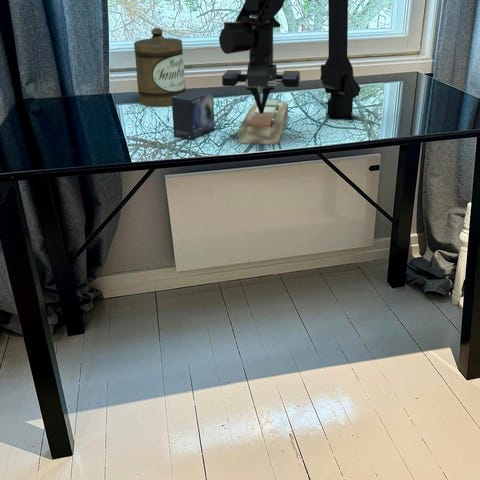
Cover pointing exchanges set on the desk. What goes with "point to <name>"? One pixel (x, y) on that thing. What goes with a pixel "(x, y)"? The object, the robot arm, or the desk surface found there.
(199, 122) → the small box
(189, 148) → the desk surface
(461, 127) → the desk surface
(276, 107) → the key sage
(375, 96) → the desk surface
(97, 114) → the desk surface
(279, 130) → the keypad housing
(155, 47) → the wooden container
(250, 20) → the robot arm
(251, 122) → the key terracotta
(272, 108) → the key ivory
